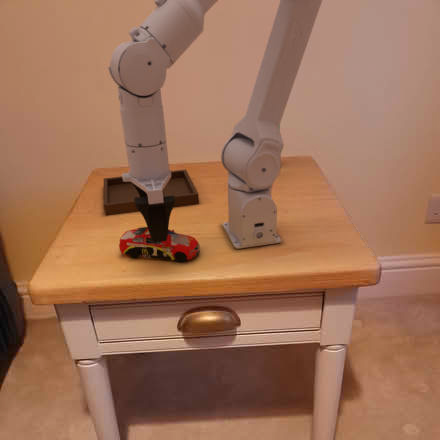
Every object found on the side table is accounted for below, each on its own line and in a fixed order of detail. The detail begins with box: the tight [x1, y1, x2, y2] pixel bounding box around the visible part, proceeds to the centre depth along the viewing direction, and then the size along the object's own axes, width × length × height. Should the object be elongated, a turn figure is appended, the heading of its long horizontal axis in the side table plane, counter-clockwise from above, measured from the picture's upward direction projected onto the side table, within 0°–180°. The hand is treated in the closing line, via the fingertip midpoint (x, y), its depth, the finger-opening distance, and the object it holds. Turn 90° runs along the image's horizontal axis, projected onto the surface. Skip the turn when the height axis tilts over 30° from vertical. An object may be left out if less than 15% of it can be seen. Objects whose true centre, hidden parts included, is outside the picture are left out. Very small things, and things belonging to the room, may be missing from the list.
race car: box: [118, 226, 201, 263], centre depth 68 cm, size 13×5×4 cm, turn 76°
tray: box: [103, 169, 200, 216], centre depth 90 cm, size 16×19×2 cm
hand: (157, 229), depth 67 cm, fingers open, 7 cm apart
